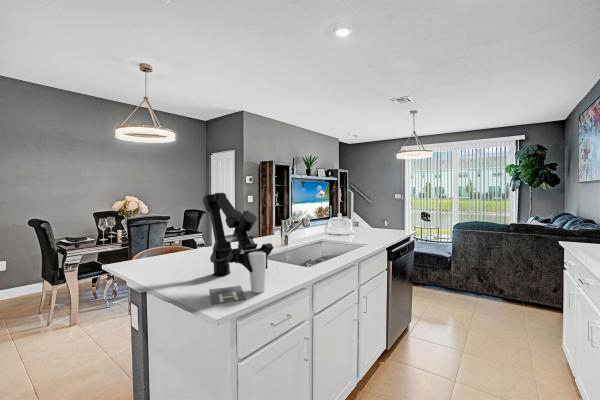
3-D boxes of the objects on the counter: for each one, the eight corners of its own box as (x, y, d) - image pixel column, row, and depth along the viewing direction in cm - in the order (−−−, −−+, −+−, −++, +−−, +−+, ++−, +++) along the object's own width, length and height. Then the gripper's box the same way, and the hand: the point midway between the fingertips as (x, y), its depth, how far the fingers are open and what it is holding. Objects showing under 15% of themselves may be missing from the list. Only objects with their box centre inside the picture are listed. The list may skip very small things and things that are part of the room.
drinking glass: (249, 288, 118) (249, 251, 118) (266, 288, 119) (266, 251, 118) (248, 294, 112) (247, 255, 111) (266, 293, 112) (265, 254, 112)
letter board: (210, 290, 118) (210, 289, 118) (240, 286, 122) (240, 285, 122) (211, 304, 103) (211, 303, 103) (246, 299, 107) (246, 298, 107)
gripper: (256, 247, 133) (271, 276, 124) (217, 253, 120) (230, 286, 112) (266, 231, 126) (281, 261, 118) (225, 236, 114) (240, 270, 106)
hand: (259, 270), depth 114 cm, fingers closed on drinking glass, 6 cm apart
